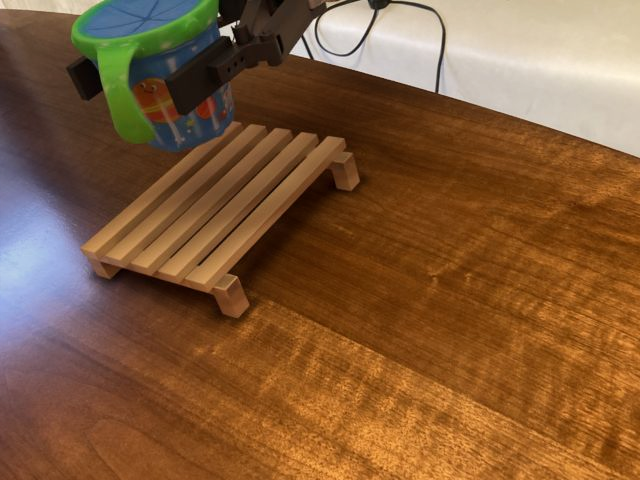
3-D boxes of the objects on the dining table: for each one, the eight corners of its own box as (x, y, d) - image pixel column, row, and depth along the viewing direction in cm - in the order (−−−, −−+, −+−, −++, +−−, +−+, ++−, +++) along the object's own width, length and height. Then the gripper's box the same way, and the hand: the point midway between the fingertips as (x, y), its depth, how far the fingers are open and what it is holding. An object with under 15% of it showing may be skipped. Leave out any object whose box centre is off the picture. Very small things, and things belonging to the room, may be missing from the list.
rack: (94, 285, 67) (70, 245, 64) (233, 157, 79) (218, 118, 76) (234, 329, 60) (215, 287, 57) (365, 181, 71) (354, 139, 68)
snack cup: (177, 83, 69) (130, -31, 62) (284, 78, 66) (247, -43, 59) (88, 187, 59) (19, 64, 52) (210, 187, 56) (155, 55, 49)
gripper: (411, 10, 66) (258, 155, 53) (217, -1, 76) (49, 118, 63) (395, -82, 61) (222, 54, 48) (190, -81, 71) (1, 31, 58)
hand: (124, 90), depth 56 cm, fingers closed on snack cup, 9 cm apart
